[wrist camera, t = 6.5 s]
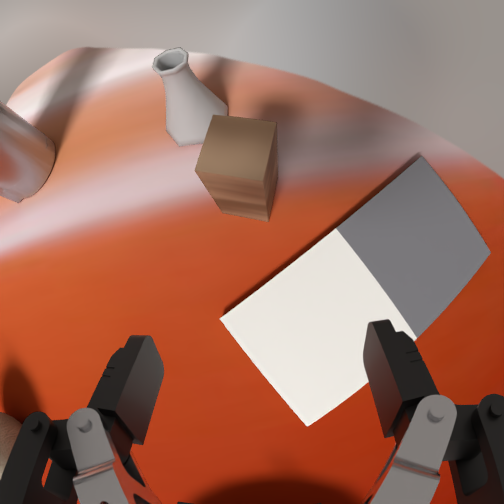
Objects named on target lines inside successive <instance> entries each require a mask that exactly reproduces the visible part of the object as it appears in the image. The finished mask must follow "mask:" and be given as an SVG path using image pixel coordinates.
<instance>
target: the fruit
mask: <svg viewBox="0 0 504 504" xmlns="http://www.w3.org/2000/svg"><path fill="white" fill-rule="evenodd" d="M21 427H22V424H21V423H20V422H19V421H18V420H16V419H15V418H13V417H12V416H10V415H7V414H5V413H2V412H0V479H1V476H2V474H3V471H4V468H5V465H6V463H7V460H8V458H9V455H10V453H11V450H12V448H13V445H14V443H15V441H16V438H17V436H18V434H19V431H20V429H21Z"/></svg>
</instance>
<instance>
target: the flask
mask: <svg viewBox="0 0 504 504" xmlns="http://www.w3.org/2000/svg"><path fill="white" fill-rule="evenodd" d="M152 68H153V69H154V70H155V71H156V72H157V73H158V74H159V75H160V76H161V78H162V80H163V84H164V88H165V92H166V131H167V132H168V134H169V135H170V136H171V137H172V138H173V140H174V141H175V142H176V143H177V144H178V145H179V146H187V145H195V144H203V143H204V140H205V137H206V134H207V131H208V128H209V125H210V122H211V119H212V116H213V115H223V116H228V106H227V105H226V104H225V103H224V102H222V101H221V100H220V99H219V98H218V97H217V96H216V95H215V94H214V93H213V92H211V91H210V90H209V89H208V88H207V87H206V86H205V85H204V84H202V83H201V82H200V81H199V80H198V79H197V77H196V76H195V74H194V73H193V72H192V70H191V69H190V67H189V64H188V53H187V52H186V51H185V50H183V49H182V48H181V47H179V48H174V49H169V50H166V51H164V52H163V53H161V54H160V55H158V56H157V57H155V58H154V62H153V66H152Z"/></svg>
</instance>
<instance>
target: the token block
mask: <svg viewBox="0 0 504 504" xmlns="http://www.w3.org/2000/svg"><path fill="white" fill-rule="evenodd" d="M195 172H196V173H197V175H198V176H199V178H200V180H201V181H202V183H203V184H204V186H205V187H206V189H207V190H208V192H209V193H210V195H211V196H212V198H213V199H214V201H215V202H216V204H217V205H218V207H219V208H220V210H221V211H222V213H225V214H230V215H236V216H241V217H246V218H251V219H256V220H261V221H267V222H269V217H270V212H271V208H272V203H273V198H274V194H275V189H276V184H277V180H278V165H277V122H271V121H264V120H257V119H250V118H241V117H233V116H223V115H213V116H212V119H211V122H210V125H209V128H208V131H207V134H206V137H205V140H204V143H203V146H202V149H201V152H200V155H199V158H198V161H197V165H196V168H195Z"/></svg>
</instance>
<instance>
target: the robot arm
mask: <svg viewBox="0 0 504 504" xmlns="http://www.w3.org/2000/svg"><path fill="white" fill-rule="evenodd" d="M54 160H55V145H54V143H53V141H52V140H51V139H49V138H48V137H47V136H46V135H45V134H43V133H42V132H40V131H39V130H38V129H36V128H35V127H34V126H32V125H31V124H30V123H28V122H27V121H26V120H24V119H23V118H22V117H20V116H19V115H18V114H16V113H15V112H14V111H12V110H11V109H10V108H9V107H7V106H6V105H5V104H3V103H2V102H1V101H0V196H2V197H5V198H7V199H10V200H12V201H14V202H17V203H20V201H21V200H22V199H24V198H28V197H30V196H32V195H34V194H35V193H36V192H37V191H38V190H39V189H40V188H41V187H42V185H43V184H44V183H45V181H46V180H47V178H48V176H49V174H50V172H51V169H52V167H53V163H54ZM363 363H364V368H365V371H366V374H367V378H368V381H369V384H370V388H371V391H372V394H373V398H374V401H375V405H376V408H377V412H378V416H379V419H380V423H381V427H382V430H383V434H384V438H387V437H391V436H394V438H395V441H396V444H395V446H394V448H393V450H392V452H391V454H390V456H389V458H388V459H387V461H386V463H385V465H384V467H383V469H382V470H381V472H380V474H379V476H378V477H377V479H376V481H375V483H374V484H373V486H372V487H371V489H370V490H369V492H368V493H367V495H366V496H365V498H364V499H363V501H362V502H361V503H360V504H429V503H430V501H431V499H432V497H433V495H434V493H435V490H436V488H437V486H438V483H439V480H440V474H438V471H439V468H440V465H441V462H442V461H448V462H449V466H450V470H451V474H452V479H453V483H454V488H455V493H456V498H457V503H458V504H504V397H503V396H501V395H498V394H490V395H487V396H486V397H484V398H483V399H482V400H481V402H480V403H479V405H455V404H454V403H453V402H452V401H451V400H450V399H449V398H447V397H445V396H442V395H440V394H439V392H438V390H437V388H436V386H435V384H434V382H433V379H432V377H431V375H430V373H429V371H428V369H427V367H426V365H425V363H424V361H423V360H422V357H421V355H420V353H419V352H418V349H417V347H416V345H415V343H414V341H413V339H412V338H411V337H410V336H408V335H407V334H406V333H405V332H404V331H399V332H396V331H395V329H394V327H393V325H392V323H391V321H390V320H389V319H385V320H379V321H372V322H369V323H368V326H367V332H366V338H365V343H364V349H363ZM163 376H164V366H163V362H162V360H161V358H160V355H159V353H158V351H157V348H156V346H155V344H154V341H153V339H152V337H151V336H148V335H131V336H130V337H129V339H128V341H127V343H126V345H125V347H124V348H119V349H118V350H117V351H116V352H115V353H114V354H113V355H112V356H111V358H110V360H109V362H108V364H107V366H106V369H105V370H104V372H103V374H102V377H101V379H100V381H99V383H98V385H97V387H96V389H95V391H94V393H93V395H92V398H91V400H90V402H89V404H88V406H87V408H82V409H79V410H77V411H75V412H74V413H73V414H72V415H71V416H70V417H69V419H65V420H51V419H50V418H49V417H48V416H47V415H46V414H45V413H43V412H34V413H32V414H30V415H29V416H28V417H27V418H26V419H25V421H24V422H23V425H22V427H21V429H20V431H19V434H18V436H17V438H16V441H15V443H14V445H13V448H12V450H11V453H10V455H9V458H8V460H7V463H6V465H5V468H4V471H3V474H2V476H1V479H0V504H77V500H78V499H79V502H80V504H162V502H161V501H160V500H159V499H158V497H157V496H156V495H155V494H154V493H153V491H152V490H151V488H150V487H149V485H148V483H147V481H146V479H145V477H144V475H143V473H142V471H141V469H140V467H139V465H138V463H137V461H136V459H135V457H134V455H133V453H132V451H131V447H132V443H134V444H140V445H143V444H144V440H145V436H146V433H147V430H148V426H149V423H150V419H151V416H152V413H153V409H154V406H155V403H156V399H157V396H158V393H159V390H160V386H161V383H162V380H163ZM48 458H49V459H51V460H52V464H51V467H50V470H49V473H48V476H47V479H46V482H45V485H44V488H43V486H42V481H41V480H42V476H43V473H44V470H45V467H46V464H47V461H48ZM177 504H192V503H184V502H178V503H177ZM319 504H321V503H319Z"/></svg>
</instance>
